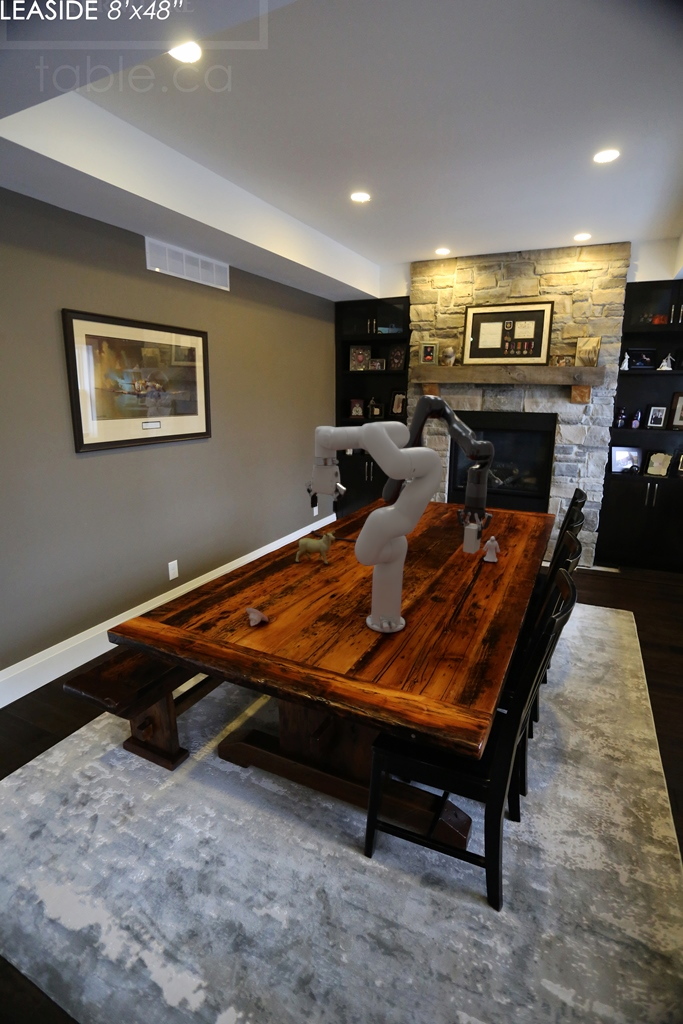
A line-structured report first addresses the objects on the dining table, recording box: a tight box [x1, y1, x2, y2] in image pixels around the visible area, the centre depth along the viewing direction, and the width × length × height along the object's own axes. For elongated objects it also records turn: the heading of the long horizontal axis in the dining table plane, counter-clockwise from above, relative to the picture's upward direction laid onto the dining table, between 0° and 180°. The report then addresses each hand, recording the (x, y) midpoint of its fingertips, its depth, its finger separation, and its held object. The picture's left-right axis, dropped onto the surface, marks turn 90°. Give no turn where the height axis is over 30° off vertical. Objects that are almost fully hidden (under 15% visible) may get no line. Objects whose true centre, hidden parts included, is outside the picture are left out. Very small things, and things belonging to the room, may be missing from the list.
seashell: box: [245, 607, 269, 627], centre depth 160 cm, size 8×5×8 cm
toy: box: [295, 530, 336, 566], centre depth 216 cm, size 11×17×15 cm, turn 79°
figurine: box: [482, 535, 501, 563], centre depth 223 cm, size 8×8×12 cm
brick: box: [462, 522, 482, 555], centre depth 192 cm, size 4×7×10 cm, turn 147°
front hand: (324, 509), depth 180 cm, fingers open, 9 cm apart
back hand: (472, 537), depth 192 cm, fingers closed on brick, 4 cm apart
